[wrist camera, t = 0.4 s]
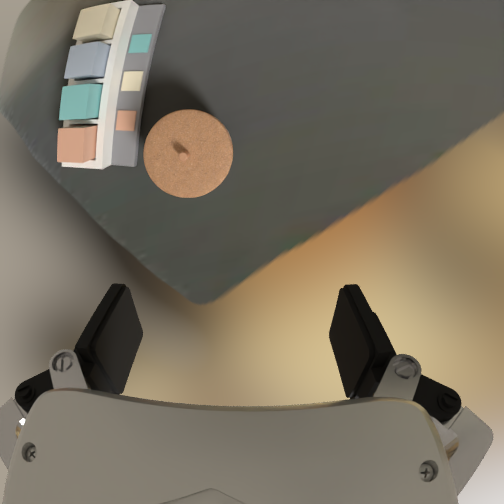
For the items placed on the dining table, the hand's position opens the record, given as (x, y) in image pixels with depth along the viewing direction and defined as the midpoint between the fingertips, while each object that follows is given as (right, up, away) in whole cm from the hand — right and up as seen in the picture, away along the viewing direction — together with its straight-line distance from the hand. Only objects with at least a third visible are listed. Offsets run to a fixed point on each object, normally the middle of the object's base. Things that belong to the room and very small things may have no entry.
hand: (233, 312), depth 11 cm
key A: (-23, +19, +20) cm, 37 cm away
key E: (-20, +35, +12) cm, 42 cm away
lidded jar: (-7, +18, +24) cm, 31 cm away
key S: (-21, +30, +15) cm, 39 cm away
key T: (-22, +24, +18) cm, 37 cm away
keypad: (-20, +28, +18) cm, 39 cm away
